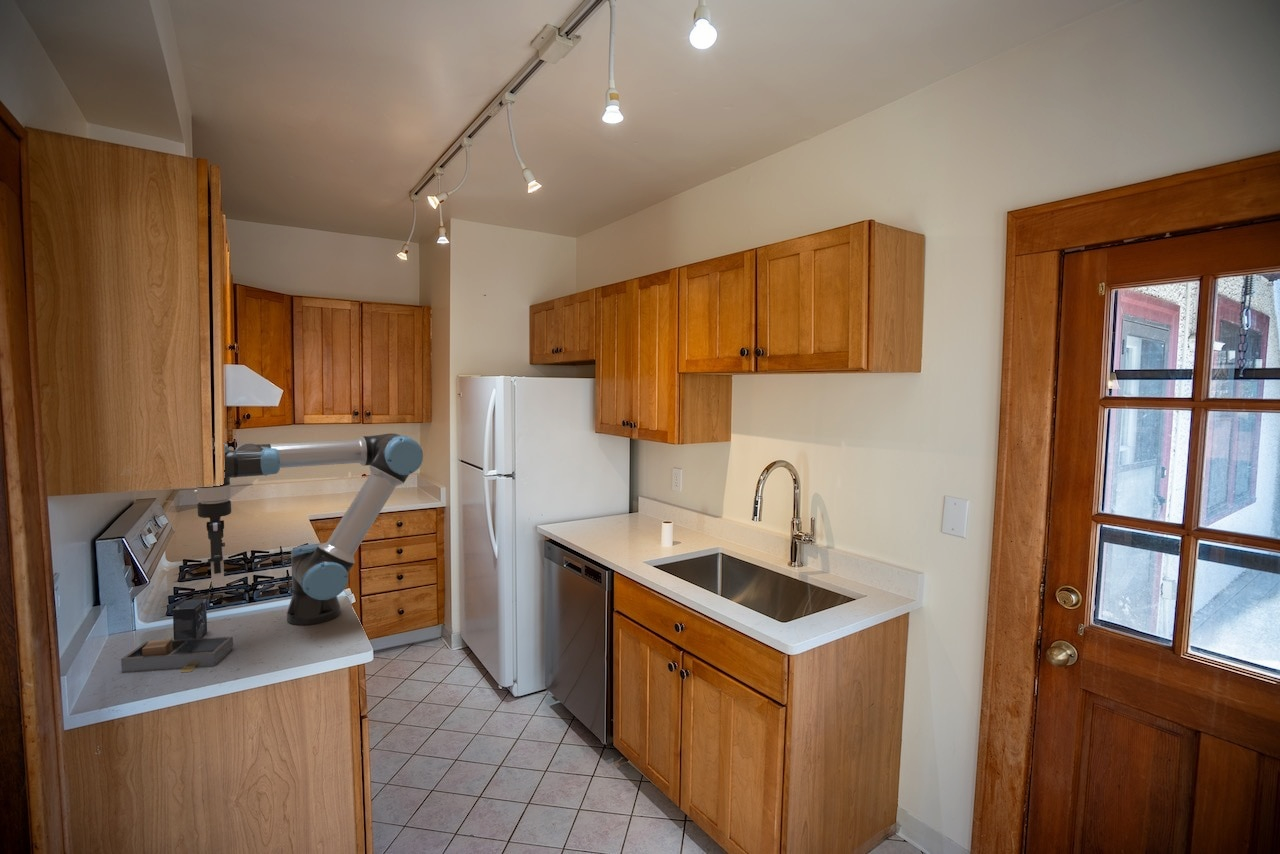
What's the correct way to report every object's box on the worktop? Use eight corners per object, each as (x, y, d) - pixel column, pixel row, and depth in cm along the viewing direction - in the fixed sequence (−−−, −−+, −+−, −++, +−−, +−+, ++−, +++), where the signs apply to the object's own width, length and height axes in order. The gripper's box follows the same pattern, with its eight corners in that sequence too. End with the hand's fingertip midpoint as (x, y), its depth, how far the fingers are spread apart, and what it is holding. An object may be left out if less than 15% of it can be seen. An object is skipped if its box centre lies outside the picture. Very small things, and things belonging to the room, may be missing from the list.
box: (196, 643, 176) (194, 607, 175) (173, 645, 175) (171, 609, 174) (208, 632, 184) (206, 598, 183) (186, 634, 182) (184, 599, 181)
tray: (146, 653, 169) (146, 641, 169) (233, 648, 173) (232, 636, 173) (115, 676, 157) (114, 663, 156) (209, 670, 160) (209, 657, 160)
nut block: (150, 658, 167) (149, 641, 166) (172, 656, 168) (171, 638, 168) (143, 667, 162) (142, 648, 162) (166, 664, 164) (165, 646, 163)
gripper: (198, 494, 175) (202, 567, 177) (195, 511, 155) (200, 593, 157) (230, 492, 180) (233, 563, 181) (231, 507, 159) (235, 588, 161)
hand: (218, 577), depth 169 cm, fingers open, 13 cm apart
